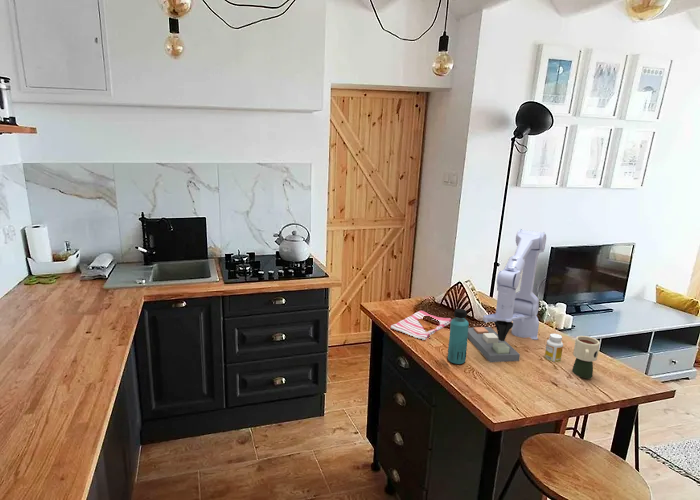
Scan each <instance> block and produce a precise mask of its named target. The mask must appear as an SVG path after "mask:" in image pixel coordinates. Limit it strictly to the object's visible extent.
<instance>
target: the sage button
mask: <svg viewBox="0 0 700 500" xmlns="http://www.w3.org/2000/svg"><path fill="white" fill-rule="evenodd" d="M509 349H510V348H509V347H508V346H507V345H506V344H505V343H493V350H494V351H495V352H496V353H497V354H509Z"/></svg>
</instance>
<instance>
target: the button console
mask: <svg viewBox="0 0 700 500" xmlns="http://www.w3.org/2000/svg"><path fill="white" fill-rule="evenodd" d="M483 327H484V328H485V329H486V330H487V331H488V333H494V334H495V335H496V336H497V337H498V332H497V331H495V330H494V329H493V328H492V327H491V326H483ZM468 330H469V331H468V339H467V340H468V341H470V342H471V343H472V345H473V346H474V347H475V348H476V349H477V350H478V351H479V353H480V354H482V356H483V357H484V358H485V359H486V360H487V361H488V362H489V363H502V362H504V363H505V362H506V363H507V362H519V361H520V356H521V354H520V352H518V351H517V350H516V349H515V348H514V347H513V346H512V345H510V344H509V343H508V342H507V341H506V339H505V340H504V341H500V340H499V339H498V343H505V344H506V345H507V346H508V347H509V348H510V349H509V354H497V353H496V352H495V351H494V350H493V343H486V342H485V341H484V340H483V334H477V333H476V332H475V331H474V327H468Z"/></svg>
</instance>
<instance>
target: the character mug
mask: <svg viewBox="0 0 700 500" xmlns="http://www.w3.org/2000/svg"><path fill="white" fill-rule="evenodd" d="M600 345H601V343H600V340H598V339H596V338H594V337H591V336H588V335H587V336H586V335H578V336H576V337H575V341H574V348H573V356H574V358H575V361H574V363H573V366H572V370H571V372H572V373H573V374H575V375H576V376H578V377H581V378H583V379H592V378H593V377H594V376H593V373H594V362H596V361H597V360H598V356H599V350H600V349H599V348H600Z"/></svg>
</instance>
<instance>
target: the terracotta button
mask: <svg viewBox="0 0 700 500" xmlns="http://www.w3.org/2000/svg"><path fill="white" fill-rule="evenodd" d="M484 327H485V326H479V327H477V326H475V327H474V326H473V328H474V331H475V332H476V333H477V334H483V333H488V331H487V330H486V329H485V328H484Z"/></svg>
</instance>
